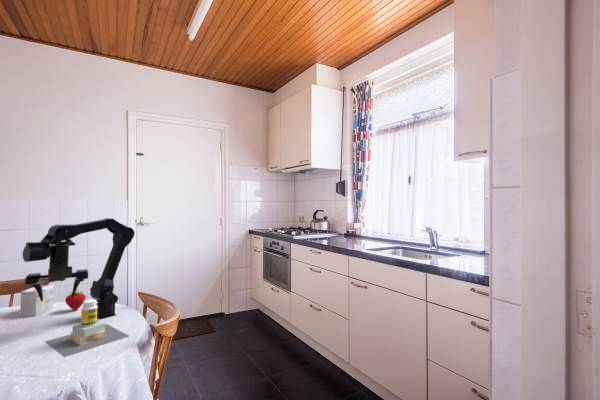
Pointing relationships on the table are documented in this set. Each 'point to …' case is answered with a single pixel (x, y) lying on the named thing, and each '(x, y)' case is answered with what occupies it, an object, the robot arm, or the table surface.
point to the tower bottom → (88, 338)
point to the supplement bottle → (89, 313)
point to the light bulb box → (36, 301)
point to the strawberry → (75, 300)
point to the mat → (70, 347)
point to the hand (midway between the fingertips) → (57, 299)
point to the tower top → (88, 329)
